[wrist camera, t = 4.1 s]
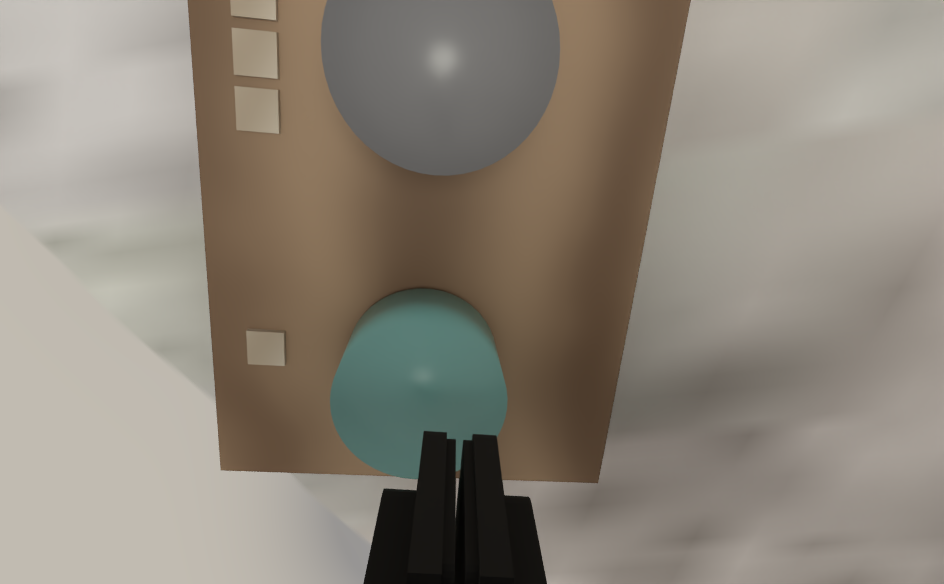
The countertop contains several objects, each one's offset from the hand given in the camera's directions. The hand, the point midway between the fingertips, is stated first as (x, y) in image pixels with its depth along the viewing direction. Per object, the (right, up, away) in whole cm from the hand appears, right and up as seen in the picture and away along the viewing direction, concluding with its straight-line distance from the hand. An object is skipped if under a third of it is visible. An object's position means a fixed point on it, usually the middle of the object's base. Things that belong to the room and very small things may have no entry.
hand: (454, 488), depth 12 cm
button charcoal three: (0, +10, +2) cm, 11 cm away
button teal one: (-1, +2, +6) cm, 6 cm away
